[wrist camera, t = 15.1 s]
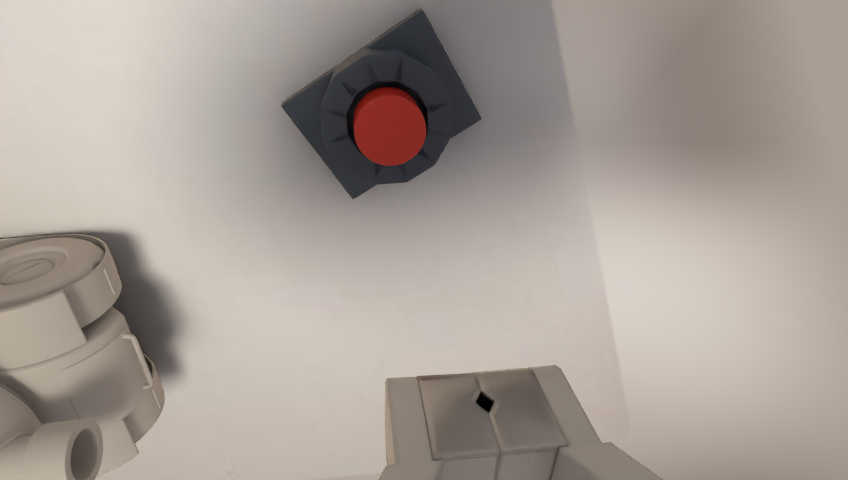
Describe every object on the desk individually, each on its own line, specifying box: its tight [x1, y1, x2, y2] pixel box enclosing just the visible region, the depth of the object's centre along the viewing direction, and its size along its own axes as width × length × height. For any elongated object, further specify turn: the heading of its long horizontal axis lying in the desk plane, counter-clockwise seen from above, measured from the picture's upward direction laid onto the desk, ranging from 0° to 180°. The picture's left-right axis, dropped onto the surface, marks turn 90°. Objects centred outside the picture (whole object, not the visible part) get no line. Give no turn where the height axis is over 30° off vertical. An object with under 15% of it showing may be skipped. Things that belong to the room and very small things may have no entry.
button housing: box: [281, 9, 481, 199], centre depth 24 cm, size 8×6×2 cm
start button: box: [353, 87, 426, 166], centre depth 22 cm, size 3×3×2 cm
